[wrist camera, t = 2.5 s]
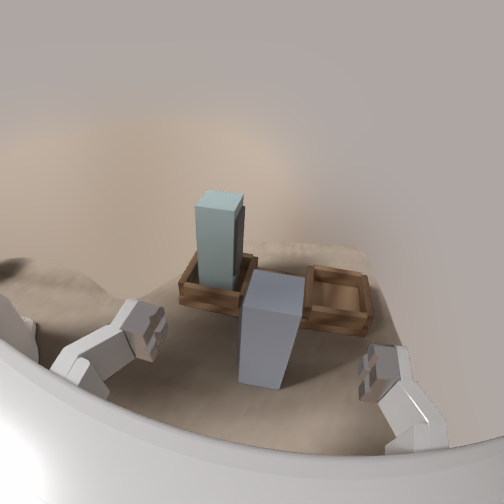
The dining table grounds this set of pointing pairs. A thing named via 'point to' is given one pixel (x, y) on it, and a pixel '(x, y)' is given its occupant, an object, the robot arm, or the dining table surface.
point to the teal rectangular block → (219, 238)
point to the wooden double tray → (314, 300)
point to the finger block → (268, 327)
